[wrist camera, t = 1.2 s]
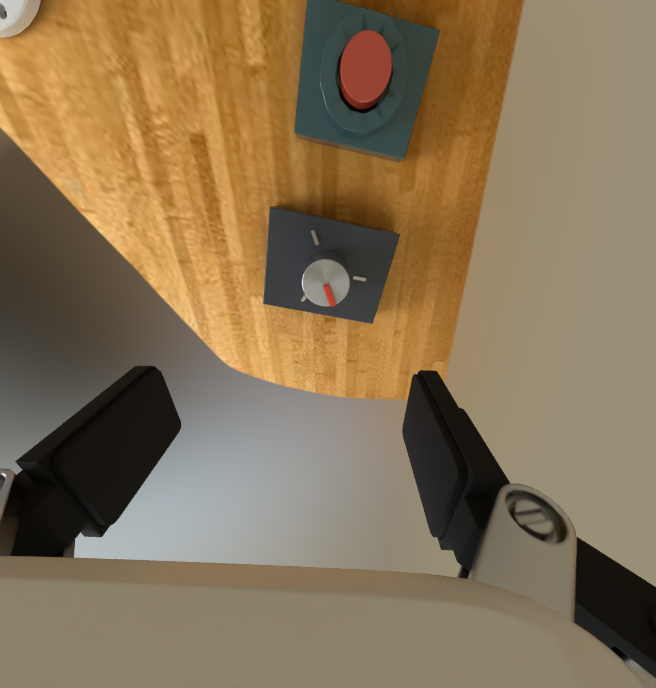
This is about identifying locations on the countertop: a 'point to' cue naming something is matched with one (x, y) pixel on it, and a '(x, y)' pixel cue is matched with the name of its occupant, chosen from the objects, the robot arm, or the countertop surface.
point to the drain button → (365, 69)
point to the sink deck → (333, 235)
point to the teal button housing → (325, 91)
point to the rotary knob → (326, 279)
